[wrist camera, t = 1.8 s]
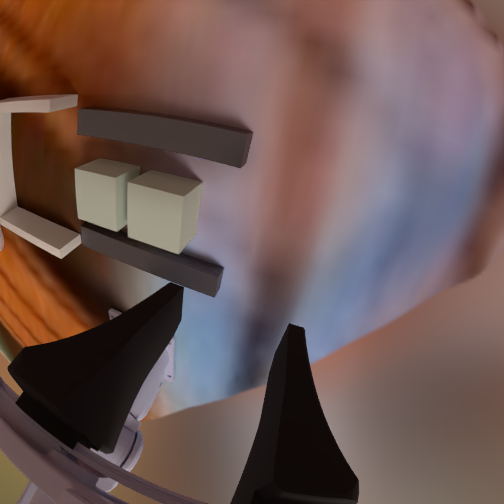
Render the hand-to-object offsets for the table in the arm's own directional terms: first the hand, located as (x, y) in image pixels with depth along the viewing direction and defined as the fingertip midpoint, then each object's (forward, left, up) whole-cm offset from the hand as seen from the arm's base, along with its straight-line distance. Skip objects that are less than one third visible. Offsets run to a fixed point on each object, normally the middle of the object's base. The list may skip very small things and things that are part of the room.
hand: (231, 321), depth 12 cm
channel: (0, +9, -8) cm, 12 cm away
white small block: (0, +7, -9) cm, 11 cm away
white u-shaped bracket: (0, +24, -8) cm, 25 cm away
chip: (0, +12, -9) cm, 15 cm away
